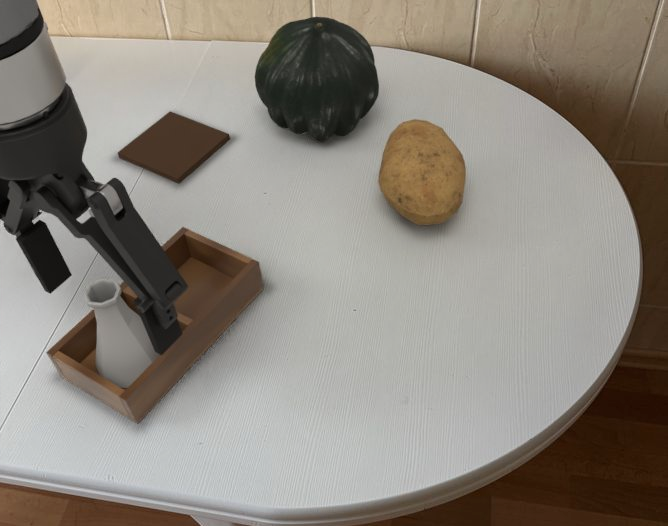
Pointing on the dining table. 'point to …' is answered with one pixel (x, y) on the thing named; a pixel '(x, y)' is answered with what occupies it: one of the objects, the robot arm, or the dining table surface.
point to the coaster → (174, 146)
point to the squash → (317, 77)
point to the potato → (422, 173)
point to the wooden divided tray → (193, 316)
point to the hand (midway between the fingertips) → (111, 312)
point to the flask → (118, 335)
